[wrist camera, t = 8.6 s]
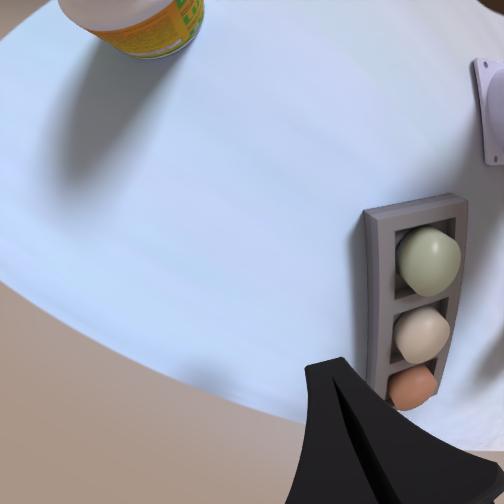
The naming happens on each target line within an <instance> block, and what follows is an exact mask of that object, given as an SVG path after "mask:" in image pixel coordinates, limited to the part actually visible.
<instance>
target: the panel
mask: <svg viewBox="0 0 504 504" xmlns="http://www.w3.org/2000/svg"><path fill="white" fill-rule="evenodd" d="M467 218H468V201H467V200H465V199H462V198H460V197H458V196H455V195H453V194H451V193H450V194H444V195H439V196H434V197H428V198H423V199H418V200H413V201H408V202H402V203H397V204H392V205H387V206H382V207H377V208H372V209H367V210H364V221H365V235H366V252H367V275H368V352H367V376H366V383H367V384H368V385H369V386H370V387H371V388H372V389H373V390H374V391H375V392H376V393H377V394H378V395H379V396H380V397H381V398H382V399H383V400H384V401H386V402H387V403H388V404H389V405H390V406H391V407H393V408H394V409H395V410H398V409H397V408H396V406H395V404H394V402H393V400H392V399H391V397H390V395H389V393H388V391H387V385H388V382H389V380H390V379H391V377H392V376H393V375H394V374H395V373H396V372H399V371H402V370H404V369H407V368H410V367H413V366H415V365H418V364H412V363H409V362H407V361H406V359H405V358H404V356H403V355H402V353H401V352H400V350H399V349H398V347H397V346H396V344H395V343H394V341H393V329H394V327H395V325H396V323H397V321H398V320H399V318H400V317H401V316H402V315H403V314H404V313H405V312H406V311H408V310H411V309H414V308H417V307H420V306H423V305H426V304H429V305H431V306H433V307H434V308H435V309H436V310H437V311H438V312H439V314H440V315H441V316H442V317H443V318H444V319H445V320H446V321H447V322H448V324H449V326H450V334H449V337H448V340H447V342H446V344H445V345H444V347H443V348H442V349H441V350H440V351H439V352H438V353H437V354H436V355H435V356H434V357H432V358H431V359H429V360H427V361H425V362H423V363H424V364H425V365H426V366H427V368H428V369H429V371H430V372H431V374H432V375H433V377H434V378H435V379H436V381H437V386H436V389H435V391H434V393H433V394H432V395H431V396H430V397H432V396H434V395H436V394H437V392H438V389H439V386H440V382H441V379H442V375H443V372H444V368H445V364H446V361H447V357H448V353H449V348H450V344H451V340H452V335H453V330H454V326H455V320H456V315H457V310H458V304H459V298H460V291H461V284H462V277H463V269H464V259H465V249H466V236H467ZM424 225H428V226H432V227H434V228H436V229H438V230H439V231H441V232H442V233H444V234H446V235H447V236H449V237H450V238H452V239H453V240H455V241H456V243H457V244H458V246H459V248H460V252H461V262H460V267H459V270H458V272H457V275H456V276H455V278H454V280H453V281H452V283H451V284H450V285H449V286H448V287H447V288H446V289H445V290H443V291H442V292H440V293H439V294H437V295H434V296H429V297H425V296H421V295H419V294H417V293H416V292H415V291H414V290H413V289H412V288H411V287H410V286H409V285H408V284H407V283H406V282H405V281H404V280H403V278H402V277H401V276H400V275H399V274H398V272H397V269H396V264H395V259H396V253H397V250H398V247H399V245H400V243H401V241H402V240H403V238H404V237H405V236H406V235H407V234H408V233H409V232H410V231H412V230H413V229H415V228H417V227H419V226H424ZM419 364H420V363H419Z"/></svg>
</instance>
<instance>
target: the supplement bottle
mask: <svg viewBox="0 0 504 504" xmlns="http://www.w3.org/2000/svg"><path fill="white" fill-rule="evenodd" d="M58 3H59V5H60V8H61V10H62V11H63V13H64V14H65V15H66V16H67V17H68V18H69V19H70V20H71V21H73V22H74V23H75V24H77V25H78V26H80V27H82V28H84V29H85V30H87V31H89V32H90V33H92V34H94V35H96V36H97V37H99V38H101V39H102V40H104V41H106V42H108V43H109V44H111V45H112V46H114V47H116V48H117V49H119V50H120V51H122V52H123V53H125V54H127V55H129V56H132V57H135V58H139V59H156V58H161V57H165V56H168V55H171V54H173V53H175V52H177V51H178V50H180V49H182V48H183V47H185V46H186V45H187V44H188V43H189V42H190V41H191V40H192V39H193V38H194V37H195V36H196V34H197V33H198V31H199V30H200V27H201V25H202V23H203V19H204V11H205V10H204V1H203V0H58Z"/></svg>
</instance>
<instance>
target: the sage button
mask: <svg viewBox="0 0 504 504" xmlns="http://www.w3.org/2000/svg"><path fill="white" fill-rule="evenodd" d="M460 262H461V252H460V248H459V246H458V244H457V243H456V241H455V240H453V239H452V238H450V237H449V236H447V235H446V234H444V233H442V232H441V231H439V230H438V229H436V228H434V227H432V226H428V225H424V226H419V227H417V228H415V229H413V230H412V231H410V232H409V233H408V234H407V235H406V236H405V237H404V238H403V240H402V241H401V243H400V245H399V247H398V250H397V253H396V259H395V264H396V269H397V272H398V274H399V275H400V276H401V277H402V278H403V280H404V281H405V282H406V283H407V284H408V285H409V286H410V287H411V288H412V289H413V290H414V291H415V292H416V293H417V294H419V295H421V296H425V297H429V296H434V295H437V294H439V293H440V292H442V291H443V290H445V289H446V288H447V287H448V286H449V285H450V284H451V283H452V281H453V280H454V278H455V276H456V275H457V272H458V270H459V267H460Z"/></svg>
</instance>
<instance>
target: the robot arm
mask: <svg viewBox="0 0 504 504" xmlns="http://www.w3.org/2000/svg"><path fill="white" fill-rule="evenodd" d="M483 63H484V65H483ZM484 66H485V67H484ZM474 67H475V73H476V78H477V84H478V91H479V98H480V105H481V114H482V124H483V136H484V153H485V162H486V164H487V165H489V166H496V165H504V62H500V61H495V60H490V59H484V58H475V59H474ZM494 157H495V159H494ZM304 369H305V376H306V383H307V391H308V409H307V421H306V429H305V436H304V441H303V446H302V451H301V456H300V460H299V464H298V467H297V471H296V474H295V477H294V481H293V483H292V487H291V490H290V492H289V495H288V497H287V500H286V502H285V504H495V503H494V500H495V499H496V498H497V497H498V496H499V495H500V494H501V493H503V492H504V471H503V470H502V469H501V467H500V466H499V465H498V464H497V463H496V462H493V461H489V460H487V459H483V458H480V457H478V456H475V455H472V454H470V453H467V452H465V451H462V450H460V449H458V448H456V447H454V446H452V445H450V444H448V443H446V442H444V441H442V440H440V439H438V438H436V437H434V436H432V435H431V434H429V433H428V432H426V431H424V430H423V429H421V428H420V427H418V426H417V425H415V424H414V423H412V422H411V421H409V420H408V419H407V418H405V417H404V416H403V415H401V414H400V413H399V412H398V411H396V410H395V409H394V408H393V407H391V406H390V405H389V404H388V403H387V402H386V401H384V400H383V399H382V398H381V397H380V396H379V395H378V394H377V393H376V392H375V391H374V390H373V389H372V388H371V387H370V386H369V385H368V384H367V383H366V382H365V381H364V380H363V379H362V378H361V377H360V376H359V375H358V374H357V373H356V372H355V371H354V369H353V368H352V367H351V366H350V365H349V363H348V362H347V361H346V360H345V358H343V357H339V358H335V359H331V360H327V361H323V362H319V363H315V364H311V365H307V366H306V367H305V368H304Z"/></svg>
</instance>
